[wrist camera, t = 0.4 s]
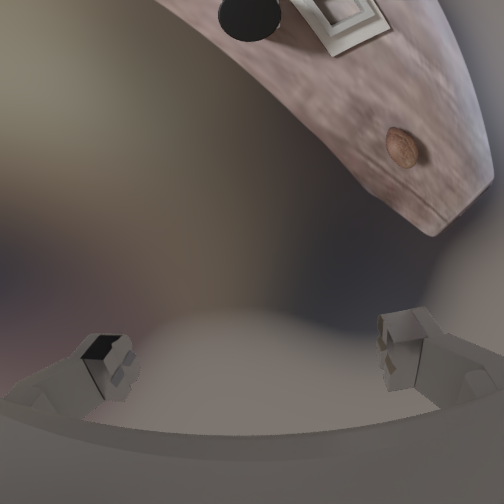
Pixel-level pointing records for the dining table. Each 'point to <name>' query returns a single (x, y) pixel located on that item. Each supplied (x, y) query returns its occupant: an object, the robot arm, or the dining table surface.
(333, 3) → the dining table surface
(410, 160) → the mushroom
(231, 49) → the dining table surface
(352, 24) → the socket
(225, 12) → the jar
